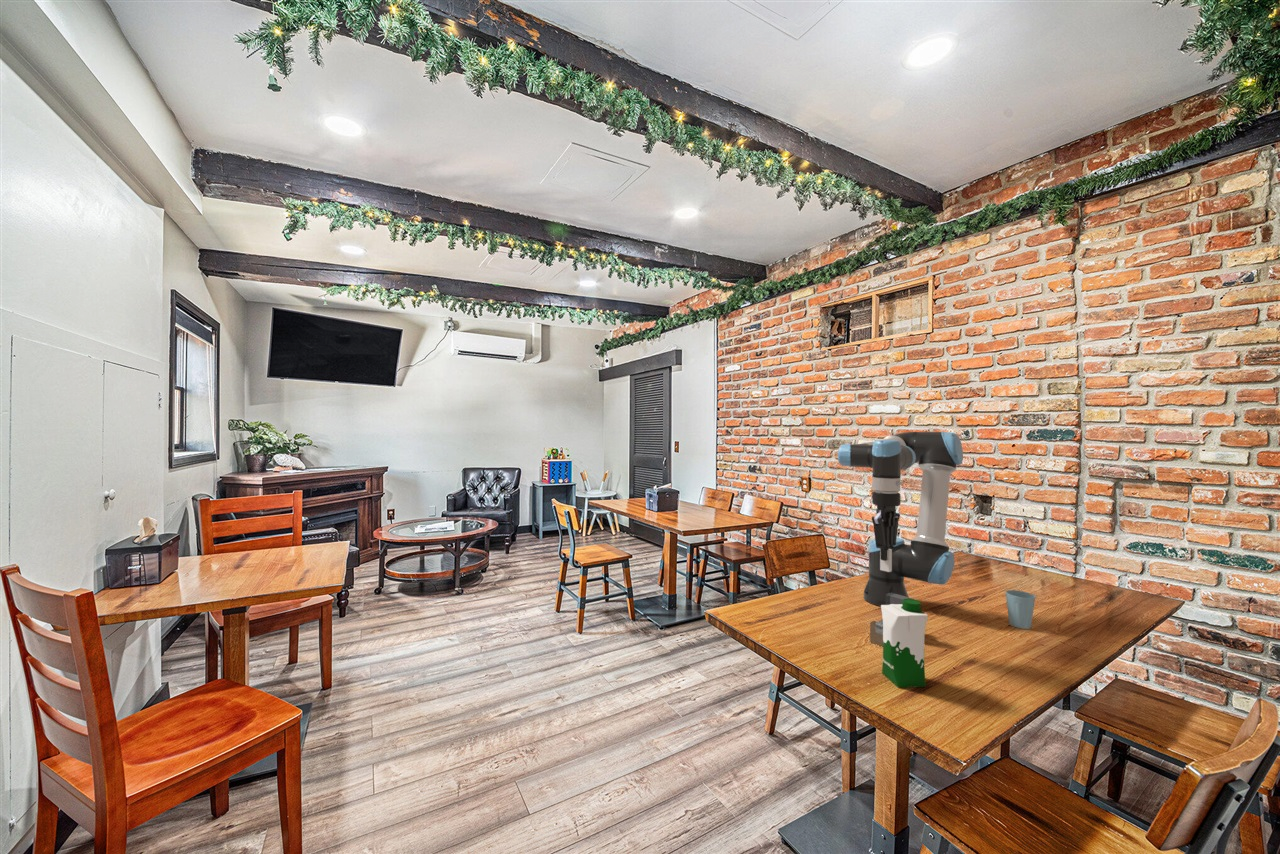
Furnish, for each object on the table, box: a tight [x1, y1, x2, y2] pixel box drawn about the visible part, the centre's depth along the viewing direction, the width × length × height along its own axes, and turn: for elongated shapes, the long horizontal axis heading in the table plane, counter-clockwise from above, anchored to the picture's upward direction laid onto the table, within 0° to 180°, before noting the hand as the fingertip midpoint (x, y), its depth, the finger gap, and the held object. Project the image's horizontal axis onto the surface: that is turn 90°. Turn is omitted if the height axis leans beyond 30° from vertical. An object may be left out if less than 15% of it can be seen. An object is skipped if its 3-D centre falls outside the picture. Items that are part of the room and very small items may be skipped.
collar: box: [885, 593, 916, 605], centre depth 149 cm, size 4×7×11 cm, turn 37°
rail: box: [869, 619, 883, 648], centre depth 147 cm, size 18×10×7 cm, turn 127°
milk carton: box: [880, 598, 929, 689], centre depth 122 cm, size 9×9×20 cm
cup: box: [1005, 589, 1036, 630], centre depth 157 cm, size 8×8×10 cm
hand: (885, 570), depth 143 cm, fingers closed
